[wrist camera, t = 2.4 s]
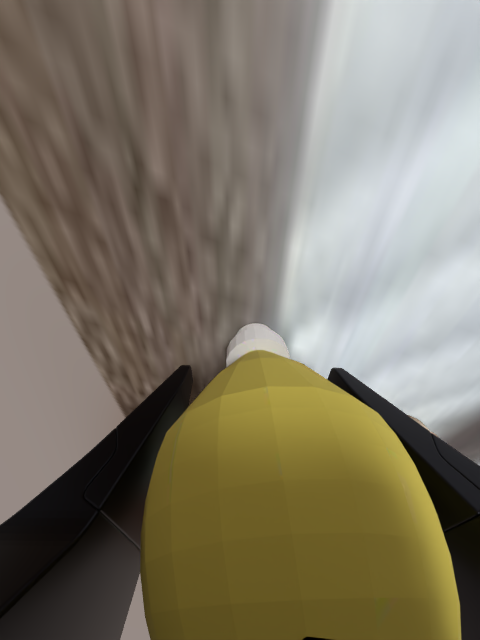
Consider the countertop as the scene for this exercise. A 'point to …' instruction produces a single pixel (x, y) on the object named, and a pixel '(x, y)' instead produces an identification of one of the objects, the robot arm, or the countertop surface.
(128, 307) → the countertop surface
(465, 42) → the countertop surface
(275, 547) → the light bulb
